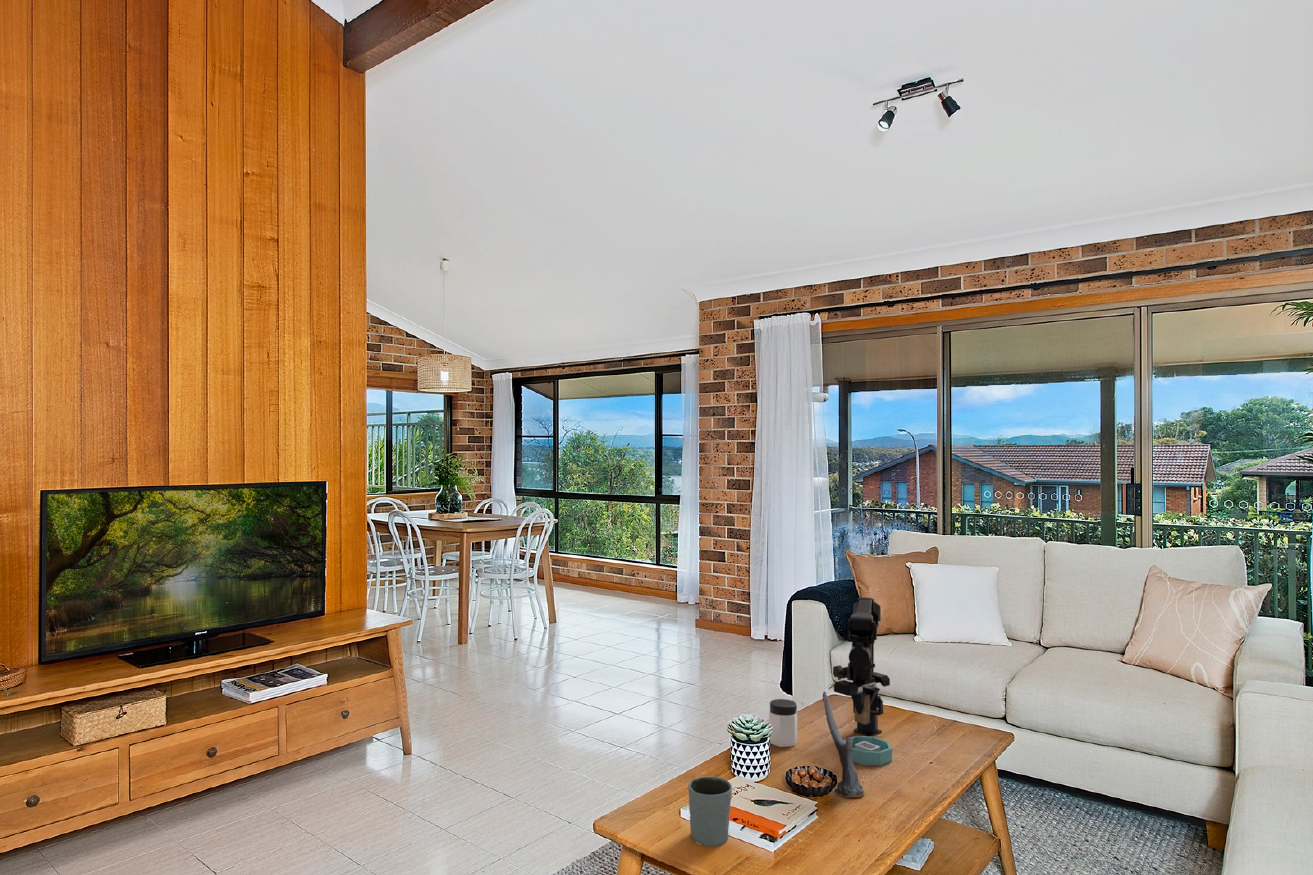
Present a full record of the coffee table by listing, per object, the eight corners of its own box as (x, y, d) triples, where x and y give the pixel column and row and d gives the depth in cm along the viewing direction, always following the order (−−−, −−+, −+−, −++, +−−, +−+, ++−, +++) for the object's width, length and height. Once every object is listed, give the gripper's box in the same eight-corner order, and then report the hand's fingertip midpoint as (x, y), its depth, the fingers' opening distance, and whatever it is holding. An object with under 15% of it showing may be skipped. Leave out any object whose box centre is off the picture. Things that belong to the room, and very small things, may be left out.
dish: (863, 745, 238) (863, 733, 238) (900, 758, 228) (899, 745, 228) (835, 755, 230) (835, 742, 230) (871, 768, 220) (871, 755, 220)
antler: (869, 793, 204) (868, 696, 205) (854, 802, 198) (853, 703, 199) (829, 780, 212) (829, 687, 213) (814, 789, 206) (814, 693, 207)
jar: (803, 743, 240) (803, 703, 240) (785, 749, 235) (785, 709, 235) (781, 735, 247) (781, 697, 247) (763, 741, 242) (763, 702, 242)
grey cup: (705, 823, 187) (705, 772, 187) (741, 836, 181) (740, 783, 181) (679, 839, 179) (679, 786, 180) (715, 853, 173) (715, 798, 173)
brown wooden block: (860, 719, 232) (860, 692, 232) (869, 722, 229) (869, 695, 229) (854, 721, 230) (854, 693, 231) (864, 724, 228) (864, 696, 228)
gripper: (860, 649, 242) (861, 700, 242) (819, 658, 231) (819, 712, 231) (890, 657, 233) (891, 710, 233) (848, 666, 222) (849, 722, 222)
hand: (862, 713), depth 230 cm, fingers closed on brown wooden block, 2 cm apart
